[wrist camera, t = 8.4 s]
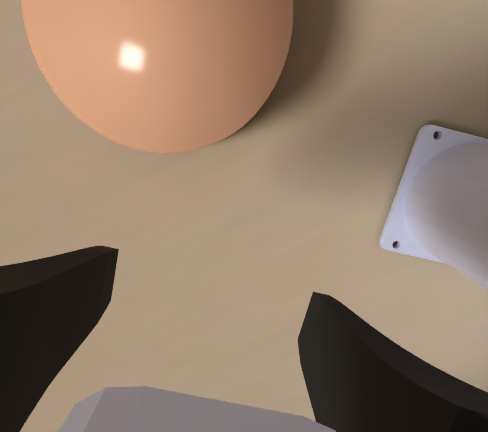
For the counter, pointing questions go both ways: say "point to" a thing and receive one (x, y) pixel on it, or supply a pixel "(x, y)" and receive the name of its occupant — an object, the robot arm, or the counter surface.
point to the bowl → (161, 65)
